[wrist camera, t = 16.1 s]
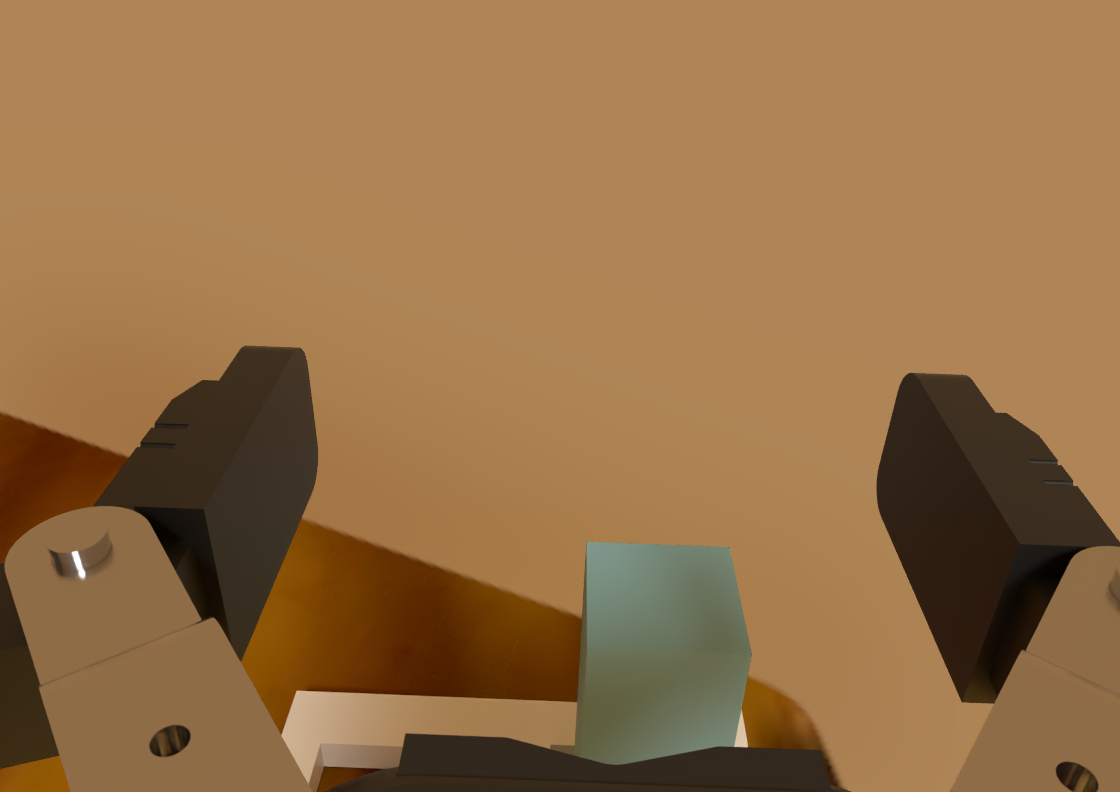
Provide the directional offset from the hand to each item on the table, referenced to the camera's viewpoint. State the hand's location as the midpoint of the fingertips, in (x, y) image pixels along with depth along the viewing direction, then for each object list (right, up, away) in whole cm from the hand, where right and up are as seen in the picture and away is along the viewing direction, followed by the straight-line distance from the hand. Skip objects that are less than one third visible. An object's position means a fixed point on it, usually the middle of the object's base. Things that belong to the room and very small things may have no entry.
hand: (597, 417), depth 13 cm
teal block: (+2, -16, +24) cm, 29 cm away
